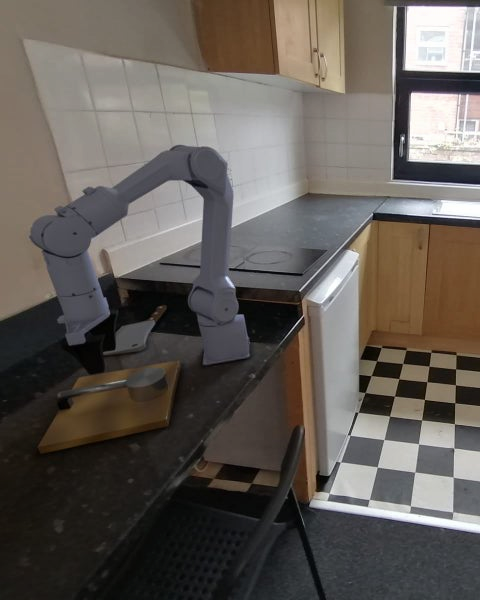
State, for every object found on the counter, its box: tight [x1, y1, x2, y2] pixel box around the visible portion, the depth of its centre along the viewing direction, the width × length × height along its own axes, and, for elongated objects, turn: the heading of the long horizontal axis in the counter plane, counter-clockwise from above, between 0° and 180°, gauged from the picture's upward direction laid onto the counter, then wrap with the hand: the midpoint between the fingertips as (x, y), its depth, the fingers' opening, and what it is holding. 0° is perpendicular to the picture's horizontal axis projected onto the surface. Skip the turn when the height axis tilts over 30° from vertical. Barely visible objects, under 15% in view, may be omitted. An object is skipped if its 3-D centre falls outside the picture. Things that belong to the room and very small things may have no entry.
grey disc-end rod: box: [56, 367, 169, 410], centre depth 74 cm, size 17×6×3 cm, turn 111°
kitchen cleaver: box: [103, 304, 168, 356], centre depth 101 cm, size 24×1×10 cm
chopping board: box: [37, 359, 182, 455], centre depth 75 cm, size 18×20×2 cm
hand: (103, 361), depth 71 cm, fingers open, 7 cm apart
